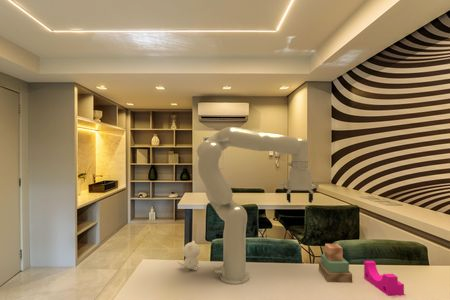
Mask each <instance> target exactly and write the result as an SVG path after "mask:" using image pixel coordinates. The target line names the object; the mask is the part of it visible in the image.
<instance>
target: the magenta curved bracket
mask: <svg viewBox="0 0 450 300" xmlns="http://www.w3.org/2000/svg"><path fill="white" fill-rule="evenodd" d="M363 276H364V277H363V279H364V280H365V281H367V282H368V283H369V284H371V285H373V287H375V288H377V289H378V290H380V291H381V292H382V293H384V294H385V295H386V296H388V297H390V296H391V297H394V296H405V284H404V283H403V282H401V281H399V280H398V279H399V277H398V276H397V275H395V274H394V273H383V274H380V273H379V271H378V269H377V265H376V262H375V261H374V260H364V261H363Z"/></svg>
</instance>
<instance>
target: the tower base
mask: <svg viewBox="0 0 450 300" xmlns="http://www.w3.org/2000/svg"><path fill="white" fill-rule="evenodd" d="M318 270H320V271H321V272H320V271H319V272H320V273H321V275H322V277H323V278H324V279H325V281H326V283H351V284H352V283H353V274H352V272H351V271H350V270H349V273H329V271H328V270H327V269H326V268H325V267H324V266H323V265H322V264H321V261H319V262H318Z"/></svg>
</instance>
